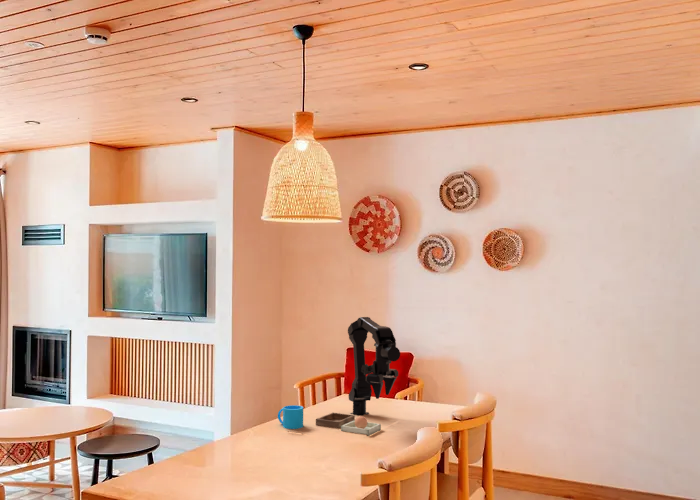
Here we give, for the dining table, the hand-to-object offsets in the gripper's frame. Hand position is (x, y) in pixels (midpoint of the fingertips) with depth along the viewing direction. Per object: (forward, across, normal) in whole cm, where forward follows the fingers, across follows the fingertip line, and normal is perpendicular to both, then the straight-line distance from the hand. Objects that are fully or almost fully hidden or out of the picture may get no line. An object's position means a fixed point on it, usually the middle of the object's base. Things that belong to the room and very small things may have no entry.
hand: (382, 396), depth 251 cm
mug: (+12, +20, -32) cm, 40 cm away
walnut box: (+12, +7, -18) cm, 23 cm away
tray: (+12, +11, -4) cm, 17 cm away
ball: (+11, +11, -4) cm, 16 cm away
